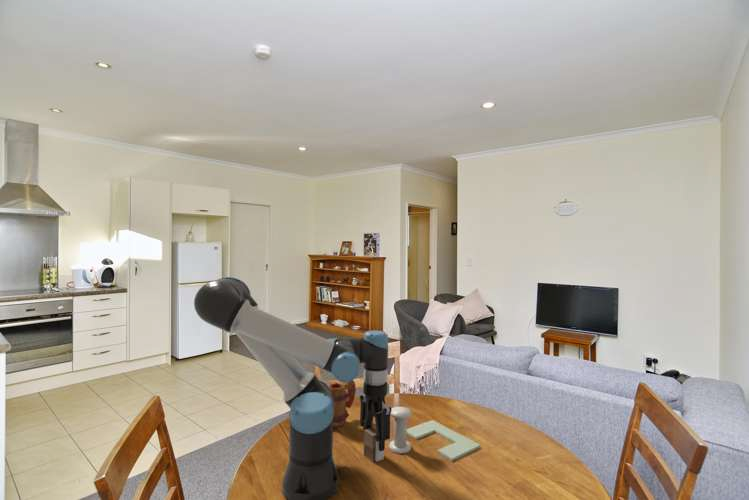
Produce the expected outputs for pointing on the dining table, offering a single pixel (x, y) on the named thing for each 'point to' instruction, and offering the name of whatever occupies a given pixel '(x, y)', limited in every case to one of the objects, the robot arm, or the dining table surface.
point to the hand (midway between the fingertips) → (373, 455)
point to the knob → (400, 430)
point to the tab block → (370, 443)
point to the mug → (342, 400)
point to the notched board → (453, 450)
